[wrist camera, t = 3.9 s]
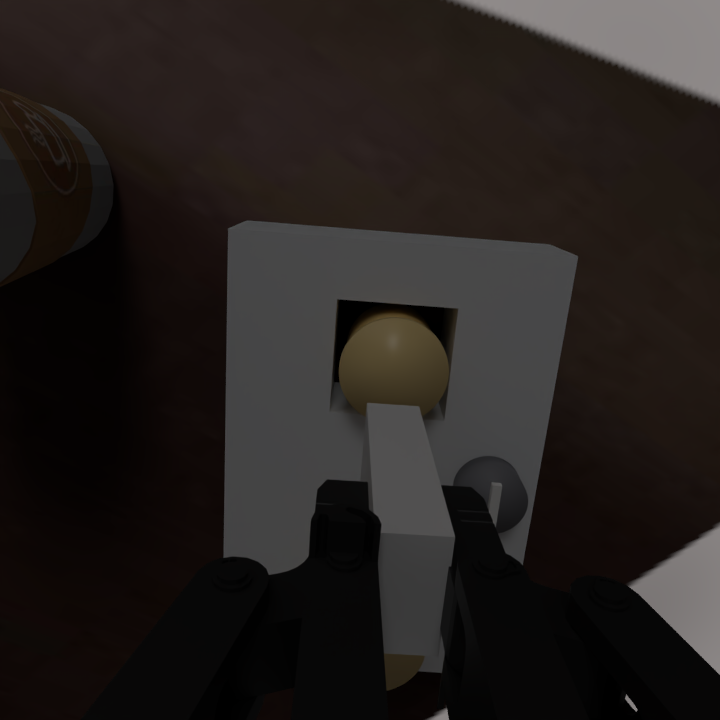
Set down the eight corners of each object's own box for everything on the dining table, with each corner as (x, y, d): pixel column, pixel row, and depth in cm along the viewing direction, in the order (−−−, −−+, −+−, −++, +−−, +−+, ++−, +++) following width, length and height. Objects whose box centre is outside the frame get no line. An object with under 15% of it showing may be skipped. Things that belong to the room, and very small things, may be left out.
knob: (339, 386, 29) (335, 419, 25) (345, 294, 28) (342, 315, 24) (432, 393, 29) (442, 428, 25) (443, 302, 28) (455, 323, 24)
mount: (238, 603, 35) (213, 686, 29) (246, 220, 28) (217, 233, 23) (487, 621, 35) (510, 706, 29) (549, 244, 29) (593, 262, 23)
